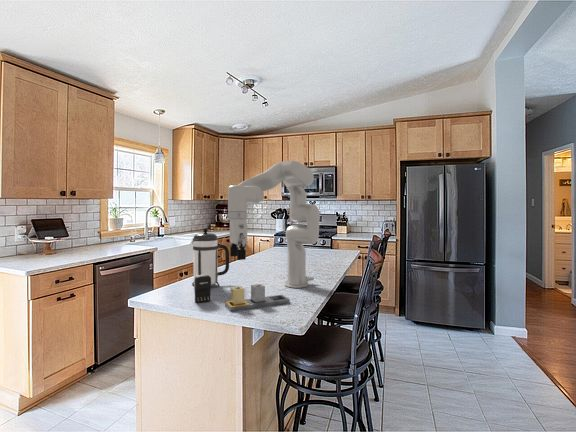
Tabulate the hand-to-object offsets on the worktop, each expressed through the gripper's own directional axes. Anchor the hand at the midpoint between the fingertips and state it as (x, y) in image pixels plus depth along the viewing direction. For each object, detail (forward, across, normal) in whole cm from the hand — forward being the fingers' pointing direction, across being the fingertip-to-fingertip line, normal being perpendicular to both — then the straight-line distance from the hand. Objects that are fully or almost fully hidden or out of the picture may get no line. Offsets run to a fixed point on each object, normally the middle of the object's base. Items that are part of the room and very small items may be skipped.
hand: (237, 257), depth 131 cm
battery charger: (+20, +14, +11) cm, 27 cm away
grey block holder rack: (+20, 0, -9) cm, 22 cm away
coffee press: (+21, +41, +3) cm, 46 cm away
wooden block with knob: (+20, 0, 0) cm, 20 cm away
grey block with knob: (+20, 0, -9) cm, 22 cm away
